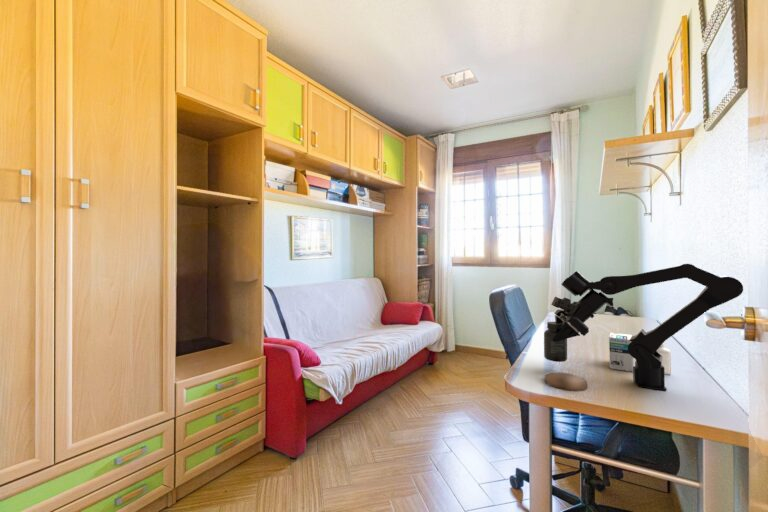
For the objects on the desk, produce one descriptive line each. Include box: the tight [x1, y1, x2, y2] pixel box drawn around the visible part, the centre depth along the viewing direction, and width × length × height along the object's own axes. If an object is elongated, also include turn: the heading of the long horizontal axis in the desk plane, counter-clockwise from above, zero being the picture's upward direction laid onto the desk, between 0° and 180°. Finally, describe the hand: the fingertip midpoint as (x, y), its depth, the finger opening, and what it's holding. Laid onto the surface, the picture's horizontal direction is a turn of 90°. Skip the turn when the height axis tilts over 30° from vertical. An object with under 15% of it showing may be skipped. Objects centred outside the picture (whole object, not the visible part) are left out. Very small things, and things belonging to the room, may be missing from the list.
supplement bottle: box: [543, 321, 568, 363], centre depth 109 cm, size 7×7×12 cm
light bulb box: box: [608, 331, 635, 373], centre depth 114 cm, size 11×7×11 cm, turn 143°
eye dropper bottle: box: [657, 341, 672, 376], centre depth 108 cm, size 4×6×12 cm
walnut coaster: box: [544, 372, 588, 392], centre depth 97 cm, size 11×11×2 cm
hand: (550, 338), depth 109 cm, fingers closed on supplement bottle, 7 cm apart
